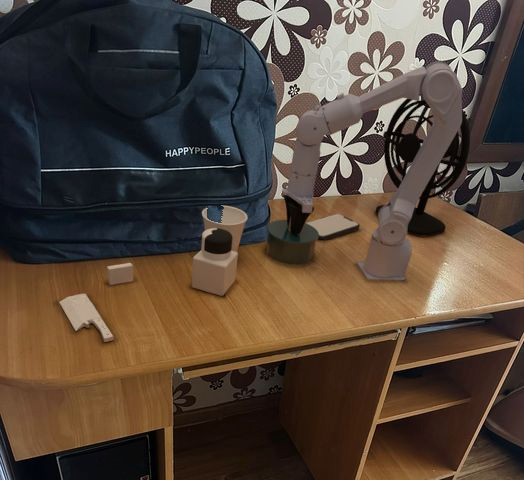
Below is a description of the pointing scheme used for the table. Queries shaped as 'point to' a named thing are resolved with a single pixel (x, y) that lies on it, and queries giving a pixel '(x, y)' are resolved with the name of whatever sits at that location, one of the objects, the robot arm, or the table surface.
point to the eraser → (120, 273)
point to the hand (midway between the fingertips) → (293, 229)
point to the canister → (289, 251)
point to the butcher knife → (84, 314)
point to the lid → (284, 234)
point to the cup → (228, 223)
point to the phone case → (333, 226)
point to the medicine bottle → (215, 262)
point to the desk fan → (408, 151)
